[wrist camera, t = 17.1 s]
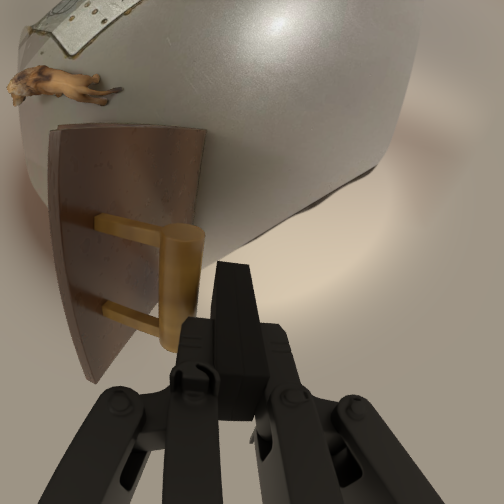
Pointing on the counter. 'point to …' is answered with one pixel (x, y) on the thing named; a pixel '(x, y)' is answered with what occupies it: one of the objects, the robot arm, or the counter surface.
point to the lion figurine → (55, 85)
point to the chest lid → (124, 235)
